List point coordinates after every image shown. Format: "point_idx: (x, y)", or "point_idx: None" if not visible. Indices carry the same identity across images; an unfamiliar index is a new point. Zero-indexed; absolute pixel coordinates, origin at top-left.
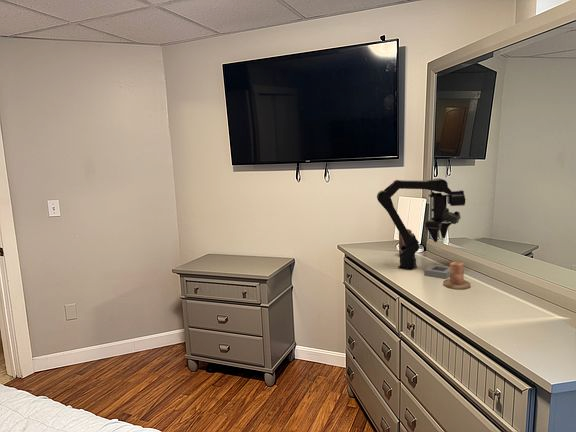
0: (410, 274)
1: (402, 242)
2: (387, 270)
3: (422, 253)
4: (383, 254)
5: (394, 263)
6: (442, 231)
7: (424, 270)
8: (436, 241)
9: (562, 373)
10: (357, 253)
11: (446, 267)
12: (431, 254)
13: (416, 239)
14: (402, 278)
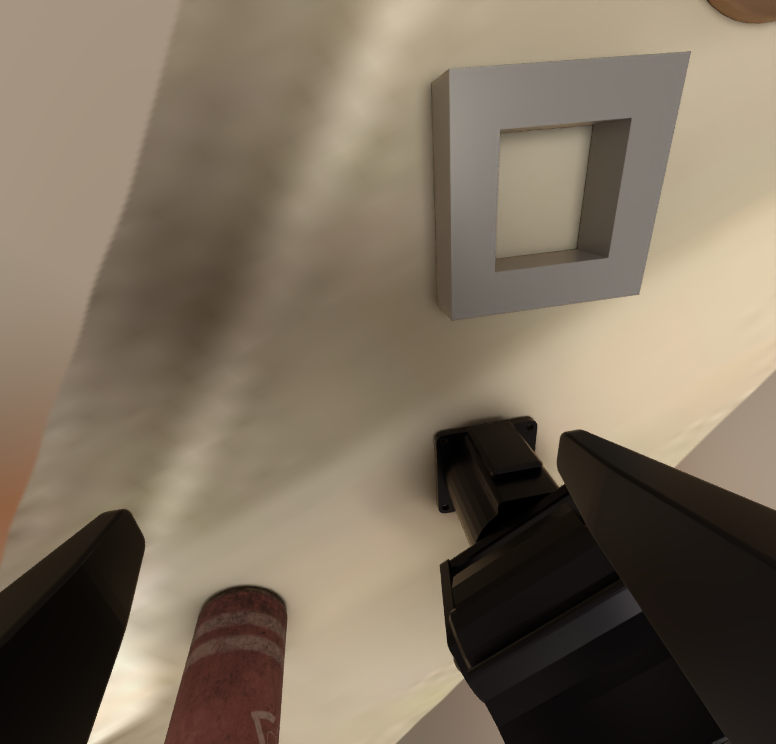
0: (621, 365)
1: (277, 737)
2: None
3: None
4: (308, 682)
5: (441, 555)
6: (45, 737)
7: (634, 291)
8: (589, 436)
9: None
10: (382, 736)
11: (484, 160)
12: (35, 546)
13: (505, 679)
14: (720, 354)
